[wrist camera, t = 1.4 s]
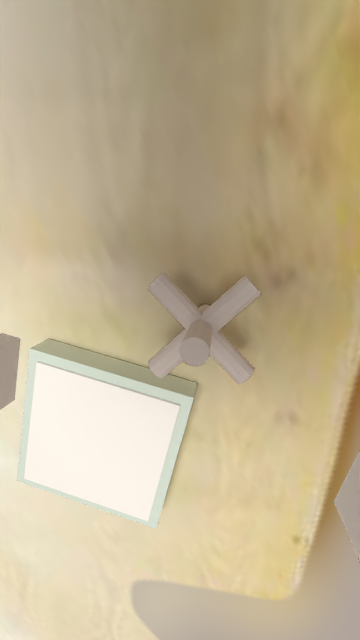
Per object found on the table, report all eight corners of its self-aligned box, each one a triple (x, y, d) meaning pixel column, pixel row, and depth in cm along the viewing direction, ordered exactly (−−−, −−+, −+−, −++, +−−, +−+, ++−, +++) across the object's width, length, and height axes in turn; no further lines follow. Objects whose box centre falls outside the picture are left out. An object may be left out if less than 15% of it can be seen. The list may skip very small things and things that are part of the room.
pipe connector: (285, 317, 25) (321, 360, 16) (203, 383, 28) (191, 453, 19) (208, 234, 25) (197, 226, 15) (132, 310, 27) (82, 343, 18)
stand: (48, 338, 30) (27, 349, 26) (197, 382, 28) (193, 399, 25) (34, 460, 34) (14, 482, 31) (161, 504, 33) (155, 531, 29)
